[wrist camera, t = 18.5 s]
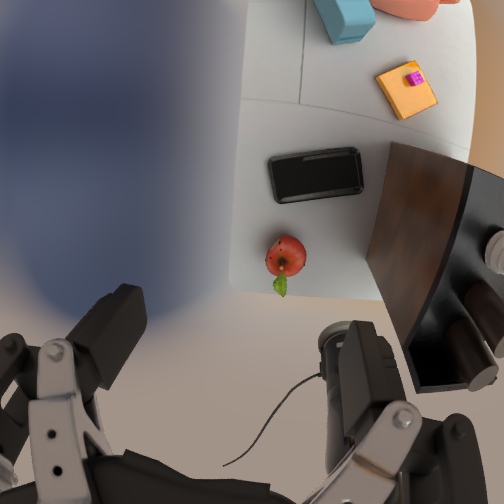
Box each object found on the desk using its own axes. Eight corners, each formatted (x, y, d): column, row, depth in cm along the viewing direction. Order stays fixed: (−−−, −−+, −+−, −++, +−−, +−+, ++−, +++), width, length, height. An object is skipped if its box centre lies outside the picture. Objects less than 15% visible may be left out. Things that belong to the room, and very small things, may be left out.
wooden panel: (422, 268, 48) (473, 347, 28) (365, 259, 49) (401, 347, 29) (452, 160, 38) (537, 196, 18) (391, 141, 39) (467, 163, 19)
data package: (358, 43, 33) (378, 20, 22) (333, 47, 34) (345, 23, 23) (333, -13, 28) (342, -46, 17) (308, -10, 29) (311, -43, 18)
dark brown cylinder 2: (450, 347, 26) (472, 396, 19) (440, 333, 26) (464, 384, 18) (474, 328, 25) (500, 374, 18) (466, 311, 24) (496, 360, 17)
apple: (262, 234, 50) (255, 260, 41) (299, 224, 48) (301, 248, 39) (275, 270, 53) (271, 302, 44) (310, 262, 51) (313, 292, 42)
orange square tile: (432, 103, 35) (444, 102, 31) (398, 120, 37) (408, 120, 34) (410, 62, 32) (420, 57, 28) (374, 77, 35) (382, 74, 31)
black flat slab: (473, 347, 28) (492, 384, 21) (401, 347, 29) (415, 394, 22) (537, 196, 18) (576, 219, 11) (467, 163, 19) (514, 182, 12)
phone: (364, 193, 43) (275, 205, 46) (362, 191, 44) (275, 203, 47) (359, 146, 39) (266, 158, 43) (357, 145, 40) (266, 157, 44)
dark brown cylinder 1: (468, 316, 24) (497, 364, 17) (459, 297, 23) (491, 347, 16) (492, 294, 23) (525, 338, 15) (484, 274, 22) (522, 318, 15)
